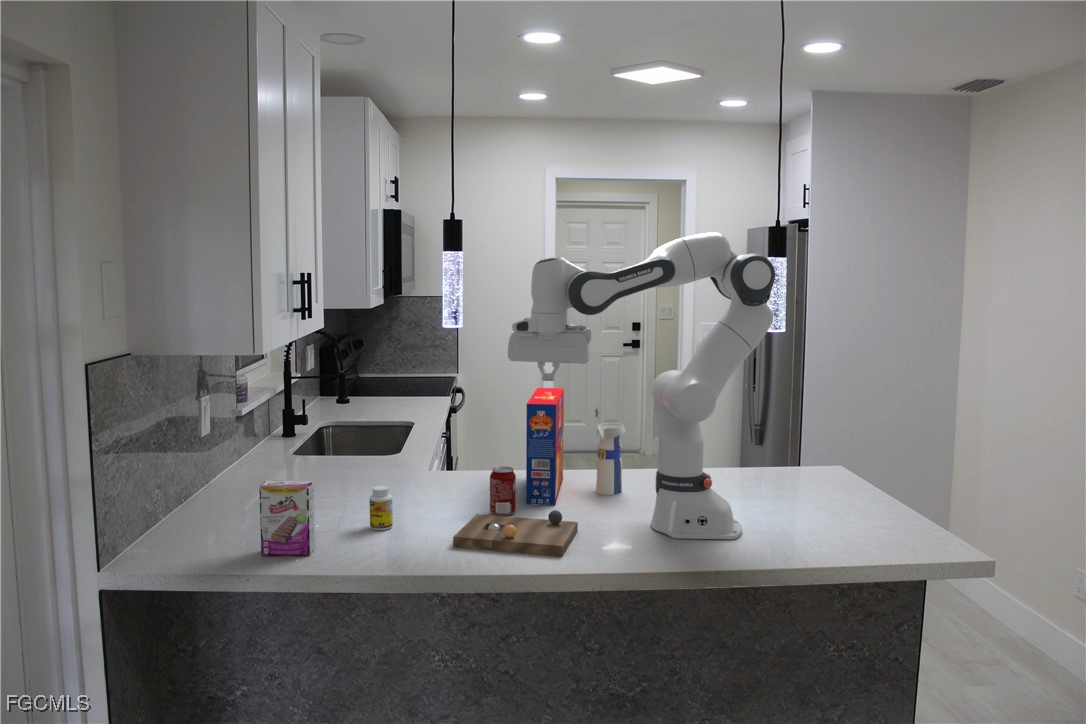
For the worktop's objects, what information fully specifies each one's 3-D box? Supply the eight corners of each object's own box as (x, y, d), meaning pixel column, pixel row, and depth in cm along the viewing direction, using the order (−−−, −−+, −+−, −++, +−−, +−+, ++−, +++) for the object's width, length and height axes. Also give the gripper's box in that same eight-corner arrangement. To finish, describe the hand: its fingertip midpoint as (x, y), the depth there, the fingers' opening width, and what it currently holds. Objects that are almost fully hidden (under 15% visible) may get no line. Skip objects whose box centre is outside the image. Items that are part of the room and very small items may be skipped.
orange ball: (518, 535, 200) (518, 523, 199) (514, 540, 197) (514, 527, 196) (505, 534, 200) (505, 522, 200) (502, 539, 198) (502, 526, 197)
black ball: (563, 522, 210) (563, 509, 210) (560, 526, 207) (560, 513, 206) (549, 521, 211) (550, 508, 210) (546, 525, 207) (546, 512, 207)
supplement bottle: (365, 529, 212) (364, 488, 211) (380, 523, 217) (379, 483, 215) (382, 532, 209) (382, 492, 208) (397, 526, 214) (396, 486, 213)
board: (577, 531, 211) (577, 521, 210) (562, 556, 193) (562, 545, 193) (476, 523, 217) (476, 514, 216) (453, 547, 199) (453, 536, 199)
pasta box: (555, 505, 233) (556, 404, 230) (526, 504, 234) (526, 403, 230) (562, 478, 261) (563, 388, 257) (536, 478, 261) (537, 387, 258)
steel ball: (505, 532, 207) (499, 519, 207) (501, 537, 204) (495, 524, 204) (493, 536, 208) (487, 524, 208) (489, 541, 205) (483, 528, 205)
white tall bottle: (609, 497, 241) (610, 409, 238) (588, 490, 248) (589, 405, 245) (630, 492, 246) (631, 406, 243) (609, 485, 253) (610, 402, 250)
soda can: (512, 518, 222) (512, 472, 220) (487, 516, 223) (486, 471, 221) (518, 510, 228) (518, 466, 227) (493, 508, 229) (493, 465, 228)
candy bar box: (260, 557, 192) (257, 485, 190) (266, 549, 197) (264, 480, 195) (310, 556, 192) (308, 485, 190) (315, 549, 197) (313, 479, 195)
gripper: (593, 324, 209) (592, 380, 211) (512, 322, 213) (512, 377, 215) (588, 326, 203) (588, 384, 204) (505, 324, 207) (505, 380, 209)
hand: (548, 380), depth 210 cm, fingers closed
